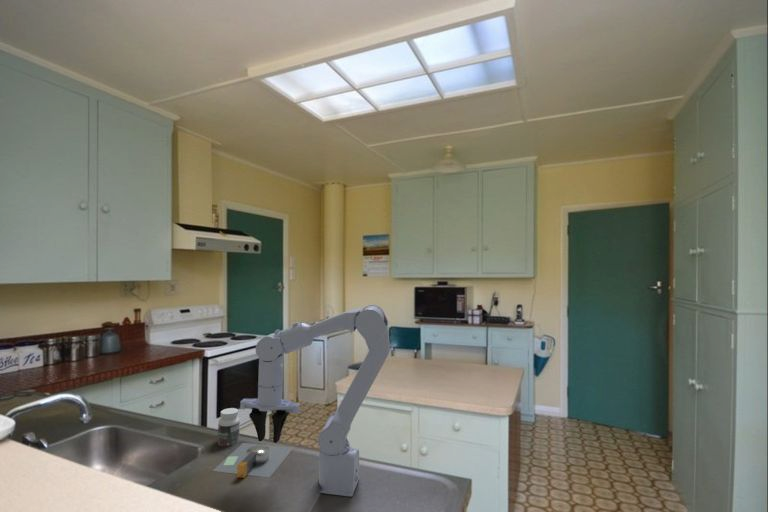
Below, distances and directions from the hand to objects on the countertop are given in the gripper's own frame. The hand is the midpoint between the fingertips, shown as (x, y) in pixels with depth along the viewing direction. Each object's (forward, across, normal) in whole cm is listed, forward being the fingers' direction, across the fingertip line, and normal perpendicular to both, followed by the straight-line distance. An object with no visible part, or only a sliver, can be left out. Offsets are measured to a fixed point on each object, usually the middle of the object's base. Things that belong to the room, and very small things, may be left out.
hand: (269, 440), depth 95 cm
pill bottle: (+10, -19, +14) cm, 26 cm away
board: (+10, -7, +7) cm, 14 cm away
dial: (+9, -6, +3) cm, 11 cm away
